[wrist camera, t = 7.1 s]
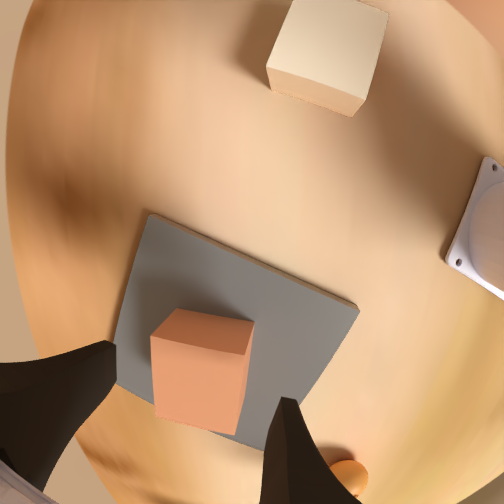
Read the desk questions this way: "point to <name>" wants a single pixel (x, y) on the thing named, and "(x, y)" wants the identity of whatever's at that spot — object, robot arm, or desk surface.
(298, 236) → the desk surface
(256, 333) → the baseplate
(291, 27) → the cream brick
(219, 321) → the terracotta brick
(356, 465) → the figurine
